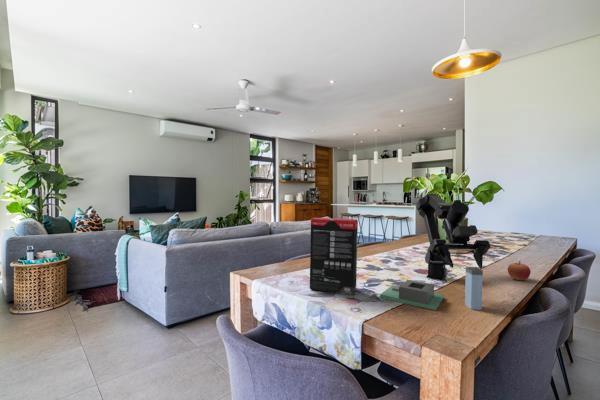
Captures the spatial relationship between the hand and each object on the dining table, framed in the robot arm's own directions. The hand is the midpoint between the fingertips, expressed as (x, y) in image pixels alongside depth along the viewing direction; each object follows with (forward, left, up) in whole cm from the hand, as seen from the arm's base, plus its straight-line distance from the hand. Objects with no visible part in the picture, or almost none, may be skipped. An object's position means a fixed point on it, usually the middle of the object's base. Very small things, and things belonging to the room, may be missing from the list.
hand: (466, 267), depth 98 cm
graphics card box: (-38, -25, -12) cm, 47 cm away
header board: (-14, -11, -12) cm, 21 cm away
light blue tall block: (+3, -4, -12) cm, 13 cm away
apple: (+7, +45, -12) cm, 47 cm away
